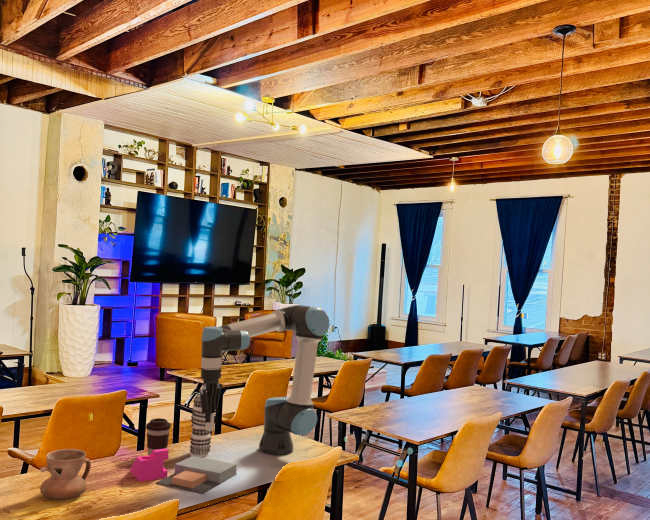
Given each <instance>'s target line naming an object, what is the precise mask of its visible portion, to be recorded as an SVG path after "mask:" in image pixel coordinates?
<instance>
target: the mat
mask: <svg viewBox="0 0 650 520" xmlns="http://www.w3.org/2000/svg"><path fill="white" fill-rule="evenodd" d="M175 475H177V474H174V473H173V474H171V475H169V476H168V475H167V477H166V478H161V480H159V481H156V483H155V484H157V485H161V486H165V487H171V488H174V487H175V488H174V489H178V488H180V489H179V490H183V489H184V491H187V490H188V492H192V491H193V492H192V493H196V492H197V493H196V494H201V493H202V494H201V495H203V494H205V493H207V492H208V490H209V491H211V490H212V489H214V488H216V487H218V486H219V485H221V484H222V483H224V482H226V481H228V480H227V479H226V480H224V481H222V482H221V483H217V482H212V481H205V482H203V483H201V484H200V485H198V486H196V487H194V488H189V487H184V486H180V485H175V484H172V477H173V476H175Z"/></svg>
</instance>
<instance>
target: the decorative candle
mask: <svg viewBox="0 0 650 520" xmlns="http://www.w3.org/2000/svg"><path fill="white" fill-rule="evenodd" d="M192 399H193V406H192V407H191V412H190V413H191V414H192V415H191V416H190V421H191V429H192V431H191V436H190V442H189V443H190V445H189V448H190V449H189V455H190V457H191V456H197V457H202V458H206V457H209V456H210V455H211V448H212V447H211V446H212V445H210V444H211V440H212V437H211V431H207V430H205V425H206V421H205V420H206V419H205V418H206V414H205V413H202V408H201V399H200V394H199V393H198V394H196V395H195V397H193V398H192ZM208 455H209V456H208ZM205 456H206V457H205Z"/></svg>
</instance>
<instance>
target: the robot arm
mask: <svg viewBox="0 0 650 520" xmlns="http://www.w3.org/2000/svg"><path fill="white" fill-rule="evenodd" d="M329 329H330V317H329V315H328V313H327V312H326V310H324V309H323V308H320V307H317V306H309V305H300V304H296V305H290V306H287V307H283V308H280V309H276V310H275V309H274V310H273V311H272V313H269V314H265V315H260V316H257V317H253V318H249V319H245V320H240V321H237V322H234V323H233V322H232V323H229V324H225V325H220V326H206V327H204V328H203V329H202V336H201V369H200V378H201V379H202V380H203V383H202V388H199V389H198V394H200V399H201V408H202V413H205V414H206V418H205V419H206V420H205V421H206V425H205V430H207V431H210V432H213V431H215V429H214V427H215V413H218V409H219V405H220V404H219V403H220V399H221V398H220V397H221V391H222V388H223V384H222V383H220V381H219V380H220V379H221V378H222V355H223V352H229V351H230V352H231V351H242V350H246V349H248V348H249V346H250V344H251V342H250V341H251V338H252V337H257V336H260V335H264V334H268V333H271V332H275V331H277V332H278V333H280V332H284V331H285V332H286V331H291V332H292V331H293V332H295V335H294V336H295V338H296V340H297V346H296V347H297V348H296V355H295V362H294V368H293V369H294V370H293V376H292V383H291V384H292V385H291V393H290V396H278V397H270V398H267V399H266V400H265V404H264V416H263V417H264V419H263V421H264V422H263V433H262V437H261V439H260V441H259V444H258V451H259V452H261V453H263V454H266V455H270V456H272V455H273V456H283V455H288V454H291V453H293V452H294V443H293V439H292V436H291V434H292V435H296V436H299V437H300V436H301V437H303V436H308V435H309V434H310V433H312V431H313V430H314V429H315V427H316V425H317V423H318V415H317V413H316V411H315V410H314V402H313V401H312V399H311V398H312V392H313V391H312V390H313V385H314V384H313V382H314V375H315V367H316V361H317V353H318V345H319V342H321V341H322V339H323V336H324V335H326V334H327V332H328V331H329Z"/></svg>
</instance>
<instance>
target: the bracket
mask: <svg viewBox="0 0 650 520" xmlns="http://www.w3.org/2000/svg"><path fill="white" fill-rule="evenodd" d="M169 453H170V452H169V449H168V448H167V449H166V448H165V449H158V450H153V451H152V453H151V455H148V454H147V455H141V456H136V458H135V460H134V462H133V464H132V465H131V467H130V470H129V472H130V473H131V474H132V476H134V478H136V479H137V481H138V482H139V483H141V482H146V481H147V480H148V481H152V480H153V481H154V480H159V478H160V479H164V478H165V477H168V470H167V469H166V468H165V467H164V461H165V460H169Z"/></svg>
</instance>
